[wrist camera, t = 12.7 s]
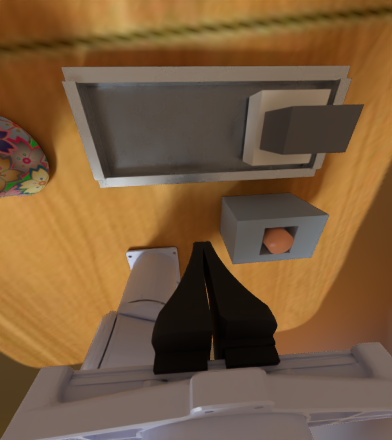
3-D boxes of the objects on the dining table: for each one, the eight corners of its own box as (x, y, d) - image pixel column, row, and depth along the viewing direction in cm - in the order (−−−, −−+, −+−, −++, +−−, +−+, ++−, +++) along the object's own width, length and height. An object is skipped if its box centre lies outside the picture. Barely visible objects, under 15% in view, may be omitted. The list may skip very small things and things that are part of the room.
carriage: (292, 159, 19) (343, 171, 13) (242, 161, 19) (271, 175, 13) (308, 95, 16) (383, 75, 10) (249, 96, 16) (292, 75, 10)
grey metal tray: (299, 171, 22) (317, 177, 19) (109, 180, 20) (98, 189, 17) (326, 74, 17) (356, 63, 14) (79, 76, 15) (56, 64, 12)
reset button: (278, 240, 21) (289, 253, 19) (257, 242, 20) (266, 255, 18) (283, 221, 19) (296, 232, 17) (261, 223, 19) (271, 234, 17)
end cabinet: (280, 227, 26) (311, 257, 20) (220, 232, 26) (232, 264, 19) (290, 192, 23) (329, 214, 17) (222, 196, 23) (237, 221, 17)
